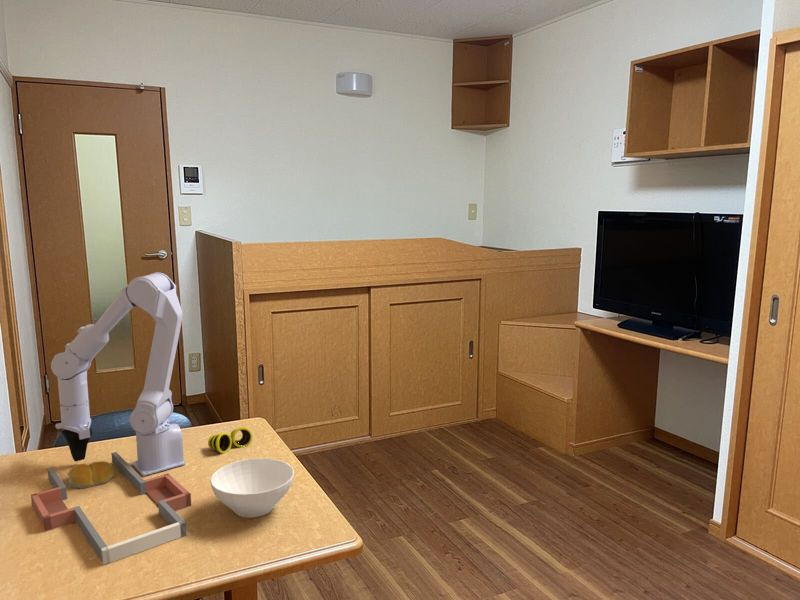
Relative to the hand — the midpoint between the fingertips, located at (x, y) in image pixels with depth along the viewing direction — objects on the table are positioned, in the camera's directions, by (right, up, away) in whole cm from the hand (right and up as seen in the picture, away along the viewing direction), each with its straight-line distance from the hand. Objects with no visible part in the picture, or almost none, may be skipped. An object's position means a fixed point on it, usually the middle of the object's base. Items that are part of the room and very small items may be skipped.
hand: (79, 459), depth 137 cm
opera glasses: (+31, 0, +11) cm, 33 cm away
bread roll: (+6, -3, -7) cm, 10 cm away
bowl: (+44, -5, -18) cm, 48 cm away
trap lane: (+16, -4, -17) cm, 24 cm away
